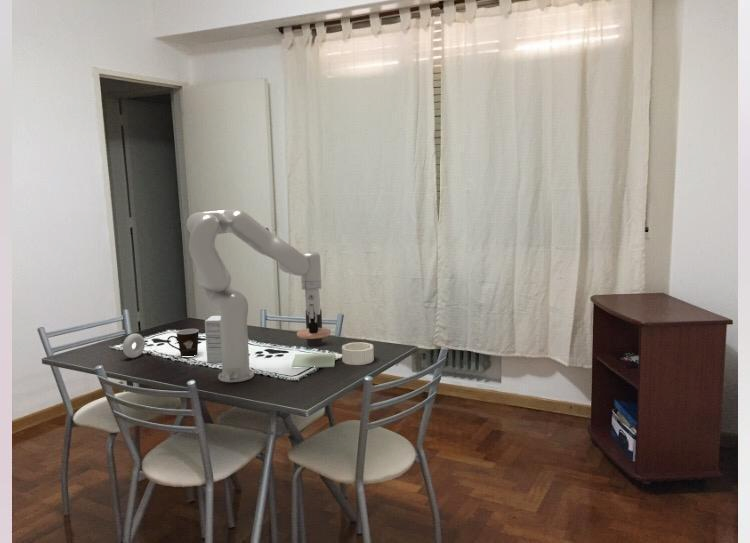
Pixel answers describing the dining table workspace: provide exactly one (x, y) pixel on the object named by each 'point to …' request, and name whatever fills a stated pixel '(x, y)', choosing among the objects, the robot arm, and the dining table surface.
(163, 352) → the dining table surface
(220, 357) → the supplement box
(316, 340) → the bottle
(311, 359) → the mat
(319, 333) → the lid
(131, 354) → the donut
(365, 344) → the bowl
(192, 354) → the coffee mug
